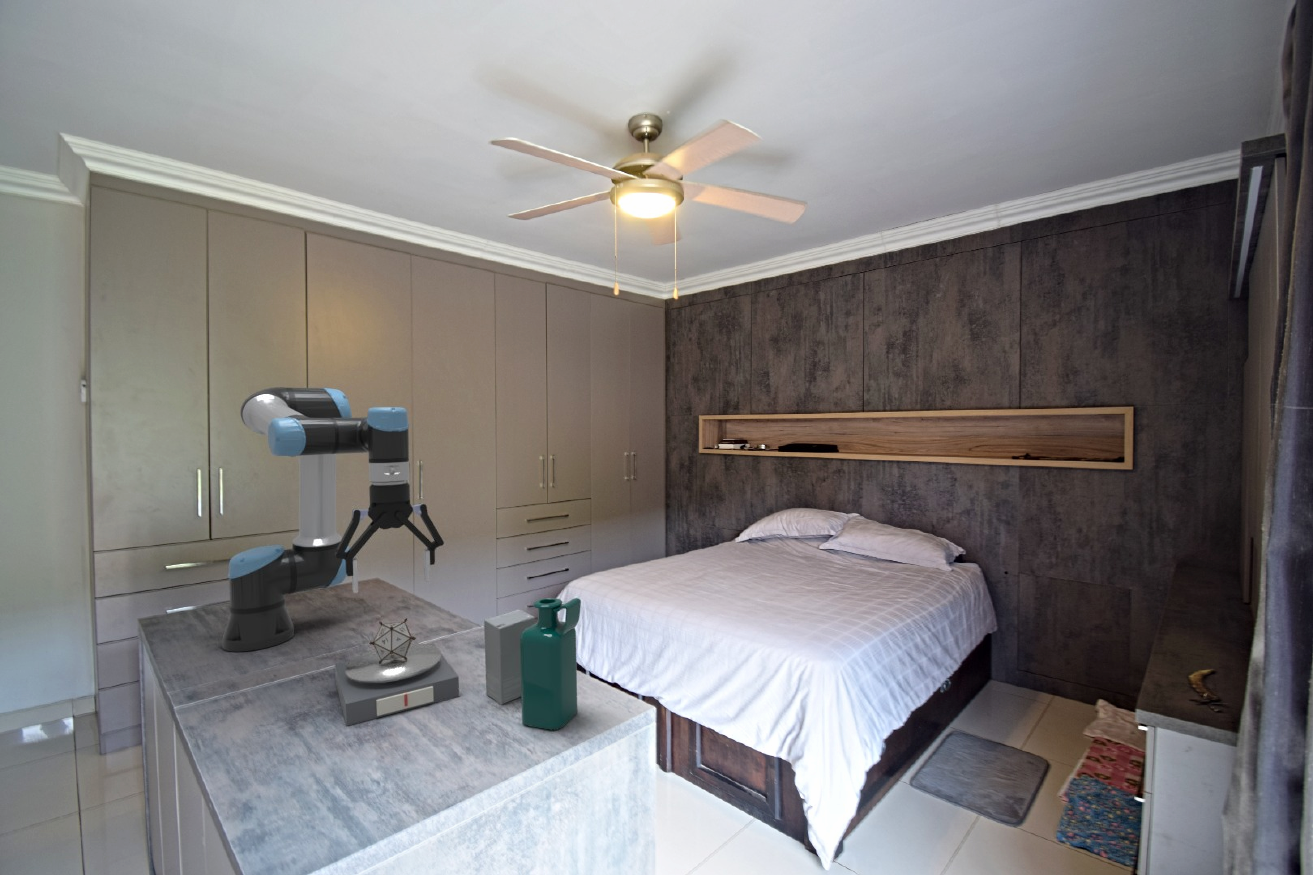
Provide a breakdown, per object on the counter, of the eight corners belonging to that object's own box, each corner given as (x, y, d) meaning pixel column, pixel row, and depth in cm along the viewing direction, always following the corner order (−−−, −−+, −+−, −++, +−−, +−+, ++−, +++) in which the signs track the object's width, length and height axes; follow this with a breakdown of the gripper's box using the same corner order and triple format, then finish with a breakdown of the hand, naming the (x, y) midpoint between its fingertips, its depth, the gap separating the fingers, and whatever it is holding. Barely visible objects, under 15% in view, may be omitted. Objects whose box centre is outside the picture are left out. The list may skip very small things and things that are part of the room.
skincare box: (520, 681, 124) (518, 607, 123) (539, 692, 119) (537, 614, 118) (483, 695, 118) (481, 617, 117) (501, 707, 113) (499, 625, 112)
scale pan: (341, 664, 124) (340, 655, 124) (430, 645, 134) (430, 637, 134) (350, 697, 109) (350, 687, 109) (450, 673, 119) (450, 664, 119)
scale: (335, 681, 125) (334, 663, 125) (433, 659, 136) (433, 642, 136) (347, 727, 106) (346, 706, 106) (460, 697, 117) (459, 678, 117)
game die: (397, 680, 120) (394, 652, 114) (362, 663, 121) (357, 635, 115) (426, 645, 127) (424, 617, 121) (392, 630, 128) (388, 601, 122)
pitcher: (517, 725, 106) (514, 603, 105) (542, 703, 114) (540, 591, 113) (565, 734, 103) (562, 609, 102) (587, 711, 110) (585, 595, 110)
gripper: (320, 489, 110) (324, 601, 111) (456, 480, 124) (459, 580, 125) (318, 485, 117) (321, 591, 117) (448, 477, 130) (450, 572, 131)
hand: (392, 586), depth 121 cm, fingers open, 13 cm apart
